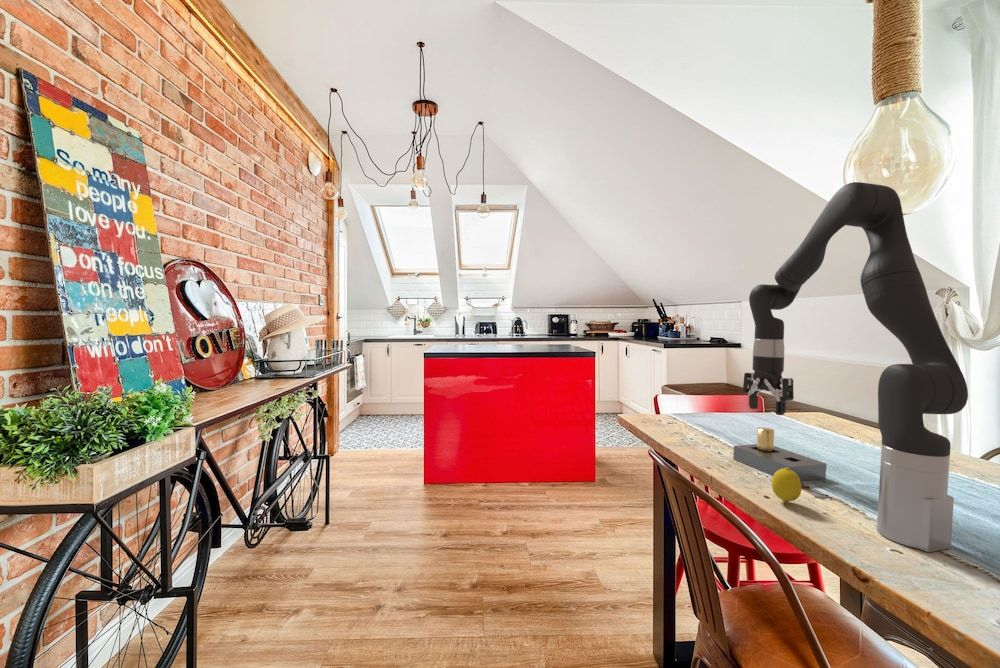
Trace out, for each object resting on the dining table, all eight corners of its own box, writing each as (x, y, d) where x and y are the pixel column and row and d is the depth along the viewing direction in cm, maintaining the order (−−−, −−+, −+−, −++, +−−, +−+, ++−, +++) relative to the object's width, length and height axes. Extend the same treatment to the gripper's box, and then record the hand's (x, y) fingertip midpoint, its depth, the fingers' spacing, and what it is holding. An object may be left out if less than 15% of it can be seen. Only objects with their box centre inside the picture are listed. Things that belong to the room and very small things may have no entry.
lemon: (791, 498, 98) (792, 464, 98) (806, 508, 92) (807, 472, 92) (766, 496, 98) (767, 462, 98) (779, 507, 93) (781, 471, 93)
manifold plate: (733, 459, 125) (733, 445, 124) (765, 456, 128) (766, 443, 128) (789, 482, 107) (790, 467, 107) (825, 478, 111) (826, 463, 110)
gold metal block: (776, 465, 120) (777, 430, 119) (765, 466, 119) (766, 431, 118) (764, 460, 124) (765, 427, 123) (753, 461, 123) (754, 427, 122)
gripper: (802, 357, 114) (800, 416, 115) (757, 353, 128) (755, 406, 129) (780, 357, 112) (778, 417, 113) (737, 353, 126) (735, 407, 127)
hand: (766, 411), depth 121 cm, fingers open, 8 cm apart
